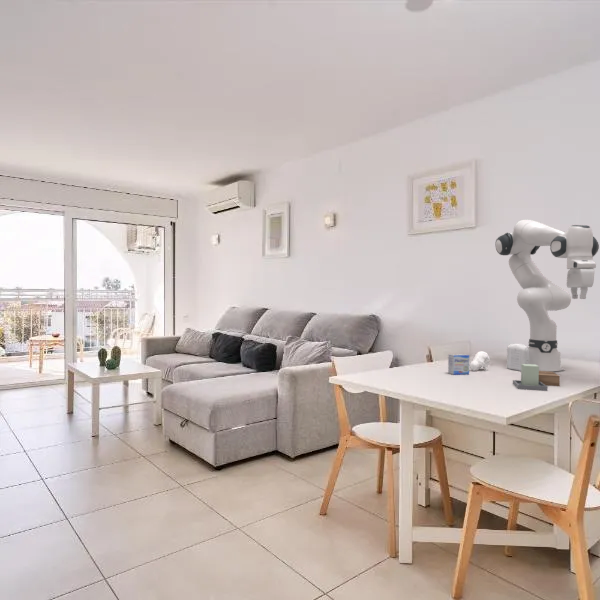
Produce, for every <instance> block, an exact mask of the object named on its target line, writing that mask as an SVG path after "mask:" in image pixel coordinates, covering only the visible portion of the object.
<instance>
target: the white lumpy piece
mask: <svg viewBox="0 0 600 600" xmlns="http://www.w3.org/2000/svg"><path fill="white" fill-rule="evenodd" d="M490 360H491V359H490V356H489V354H488V353H487V352H486V351H483V350H482V351H478V352H477V353H475V355H474V356H473V359H472V360H471V361H470V362H469V370H471V371H472V372H475V371H477V372H478V371H479V370H480V369H481V368H482V369H484V370H485V371H488V366H489V364H490Z"/></svg>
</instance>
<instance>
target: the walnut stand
mask: <svg viewBox="0 0 600 600" xmlns="http://www.w3.org/2000/svg"><path fill="white" fill-rule="evenodd" d="M560 377H561V376H560V375H559V374H557V373H555V371H539V382H542V383H543V384H544V385H546V386H547V387H549V386H551V387H560V385H561V383H560Z"/></svg>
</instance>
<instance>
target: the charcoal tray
mask: <svg viewBox="0 0 600 600" xmlns="http://www.w3.org/2000/svg"><path fill="white" fill-rule="evenodd" d="M512 385H513V386H514V387H515V388H517V390H526V389H527V390H529V391H530V390H531V391H544V392H545V391H547V392H548V387H549V386H548V385H544V384H543V383H542V382H538V386H530V385H521V380H517V379H515V380H514V379H513V380H512Z"/></svg>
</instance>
